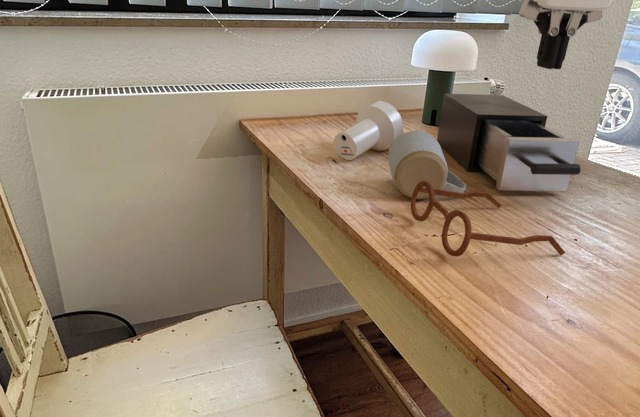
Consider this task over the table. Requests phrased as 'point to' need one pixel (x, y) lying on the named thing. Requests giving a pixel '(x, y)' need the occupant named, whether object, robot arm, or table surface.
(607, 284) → the table surface
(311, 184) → the table surface
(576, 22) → the robot arm
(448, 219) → the glasses
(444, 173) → the ceramic mug
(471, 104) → the dark brown hollow box
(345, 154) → the spotlight
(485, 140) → the drawer
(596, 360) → the table surface
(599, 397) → the table surface
